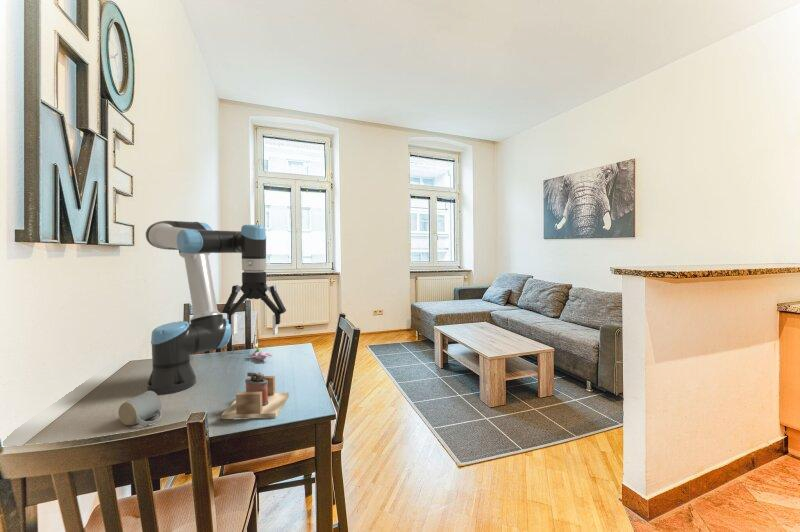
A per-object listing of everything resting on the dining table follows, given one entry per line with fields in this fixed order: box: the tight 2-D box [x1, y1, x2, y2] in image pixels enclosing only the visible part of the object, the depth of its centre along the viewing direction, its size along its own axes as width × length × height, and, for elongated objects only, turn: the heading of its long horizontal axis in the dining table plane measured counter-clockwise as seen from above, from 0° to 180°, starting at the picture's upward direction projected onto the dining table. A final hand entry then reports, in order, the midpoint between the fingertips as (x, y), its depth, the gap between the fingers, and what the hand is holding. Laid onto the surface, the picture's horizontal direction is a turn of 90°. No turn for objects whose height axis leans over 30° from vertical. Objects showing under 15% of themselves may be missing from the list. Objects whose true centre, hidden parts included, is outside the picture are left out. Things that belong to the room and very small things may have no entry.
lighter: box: [244, 371, 268, 406], centre depth 111 cm, size 8×3×10 cm, turn 71°
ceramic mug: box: [118, 390, 163, 427], centre depth 102 cm, size 11×8×8 cm
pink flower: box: [247, 347, 273, 361], centre depth 159 cm, size 6×6×15 cm
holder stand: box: [220, 375, 290, 420], centre depth 111 cm, size 16×15×8 cm
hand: (254, 333), depth 117 cm, fingers open, 13 cm apart
